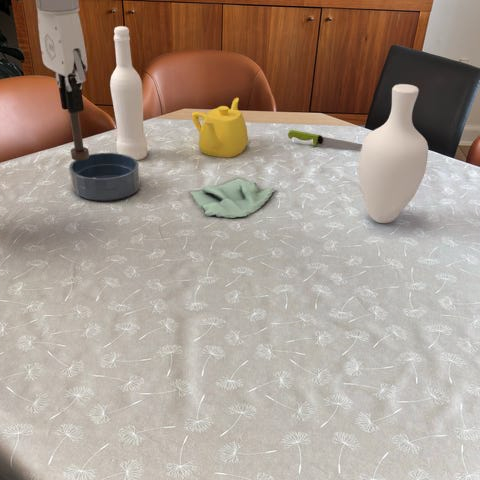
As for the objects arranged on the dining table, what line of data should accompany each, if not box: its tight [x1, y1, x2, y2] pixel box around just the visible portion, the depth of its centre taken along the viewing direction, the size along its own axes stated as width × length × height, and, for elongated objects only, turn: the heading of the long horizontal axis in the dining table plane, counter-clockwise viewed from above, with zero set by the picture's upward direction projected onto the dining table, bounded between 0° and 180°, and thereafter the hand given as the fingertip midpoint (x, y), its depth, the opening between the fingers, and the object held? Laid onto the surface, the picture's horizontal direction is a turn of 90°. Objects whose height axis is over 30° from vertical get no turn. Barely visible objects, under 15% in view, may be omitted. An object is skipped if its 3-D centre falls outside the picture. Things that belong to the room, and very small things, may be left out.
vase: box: [357, 83, 429, 224], centre depth 139 cm, size 14×14×28 cm
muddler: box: [64, 77, 90, 161], centre depth 131 cm, size 4×4×15 cm
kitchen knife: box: [287, 129, 363, 151], centre depth 180 cm, size 22×1×3 cm, turn 77°
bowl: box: [68, 152, 141, 202], centre depth 157 cm, size 16×16×6 cm
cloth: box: [190, 178, 276, 219], centre depth 155 cm, size 20×22×2 cm
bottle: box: [109, 25, 149, 161], centre depth 164 cm, size 8×8×30 cm
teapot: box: [191, 97, 249, 159], centre depth 176 cm, size 22×16×11 cm
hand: (73, 109), depth 129 cm, fingers closed on muddler
